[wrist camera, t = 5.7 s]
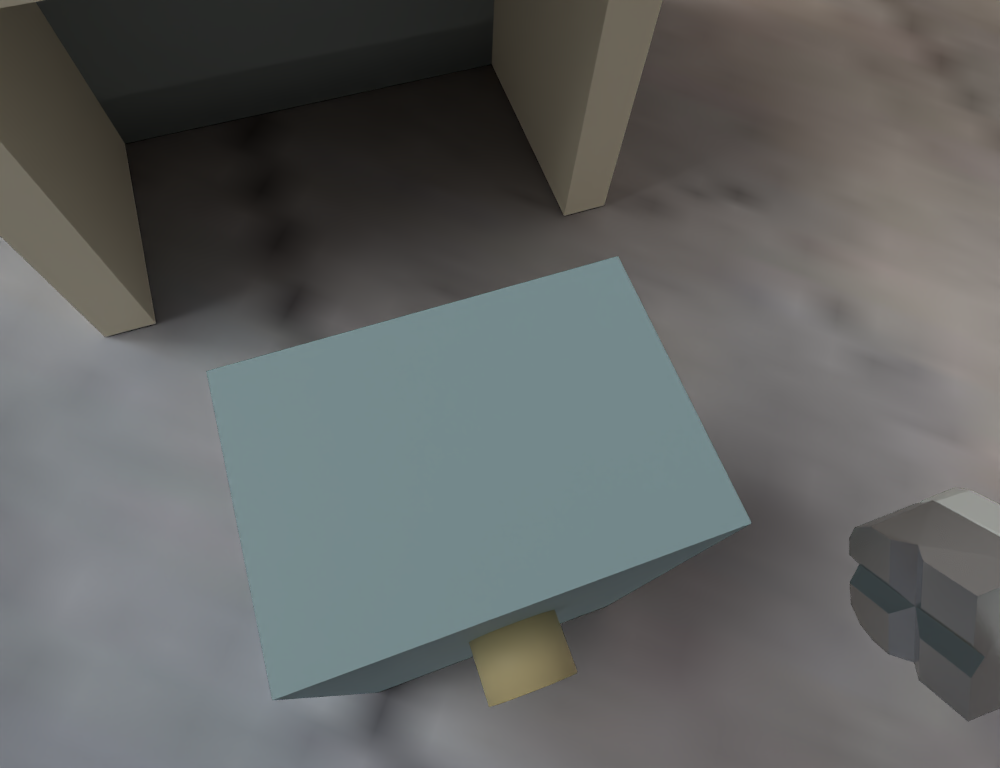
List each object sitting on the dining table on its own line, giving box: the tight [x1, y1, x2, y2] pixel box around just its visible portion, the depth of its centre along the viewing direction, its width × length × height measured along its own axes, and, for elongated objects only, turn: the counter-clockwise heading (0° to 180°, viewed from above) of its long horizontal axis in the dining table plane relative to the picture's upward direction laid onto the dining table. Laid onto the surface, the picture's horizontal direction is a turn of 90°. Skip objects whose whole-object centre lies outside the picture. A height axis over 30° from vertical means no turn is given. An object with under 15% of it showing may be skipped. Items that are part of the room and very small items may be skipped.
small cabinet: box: [206, 256, 751, 707], centre depth 11 cm, size 5×4×8 cm
